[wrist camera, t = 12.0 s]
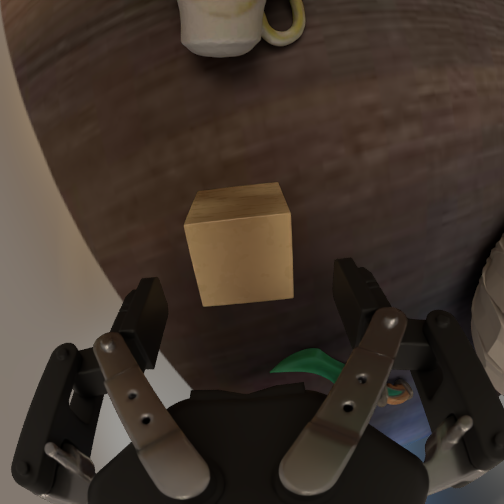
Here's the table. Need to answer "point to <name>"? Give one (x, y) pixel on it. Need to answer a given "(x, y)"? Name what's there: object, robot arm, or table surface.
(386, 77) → the table surface
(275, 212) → the block
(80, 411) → the robot arm
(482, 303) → the vase
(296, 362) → the knife
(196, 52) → the mug
